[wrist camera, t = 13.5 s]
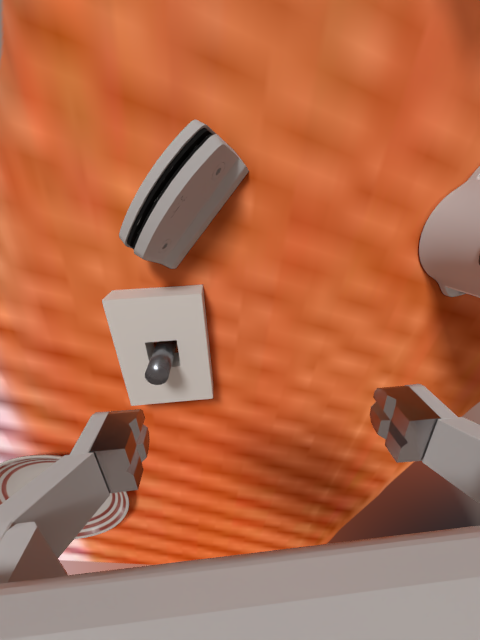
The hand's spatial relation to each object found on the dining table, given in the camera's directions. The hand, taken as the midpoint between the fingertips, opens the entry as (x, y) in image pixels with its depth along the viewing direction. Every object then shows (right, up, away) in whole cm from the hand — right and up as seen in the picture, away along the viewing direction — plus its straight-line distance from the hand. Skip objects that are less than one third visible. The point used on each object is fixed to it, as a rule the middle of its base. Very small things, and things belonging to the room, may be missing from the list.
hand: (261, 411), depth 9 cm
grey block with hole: (-12, 0, +33) cm, 36 cm away
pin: (-12, 0, +33) cm, 36 cm away
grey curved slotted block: (-8, +19, +25) cm, 32 cm away
